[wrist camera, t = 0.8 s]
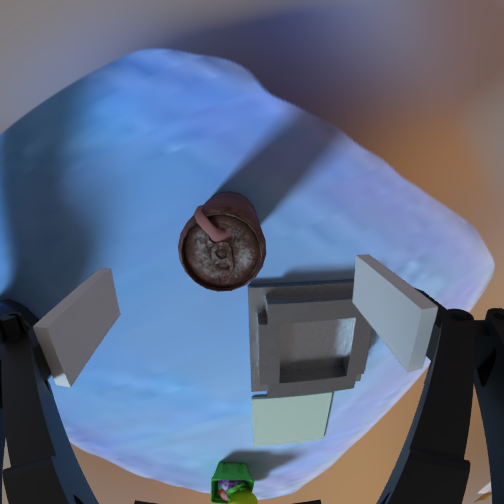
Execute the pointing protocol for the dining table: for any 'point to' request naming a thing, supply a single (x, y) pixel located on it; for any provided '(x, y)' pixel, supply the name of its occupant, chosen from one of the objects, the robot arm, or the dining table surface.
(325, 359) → the socket block
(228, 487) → the fruit basket
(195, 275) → the can
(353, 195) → the dining table surface
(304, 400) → the mat
